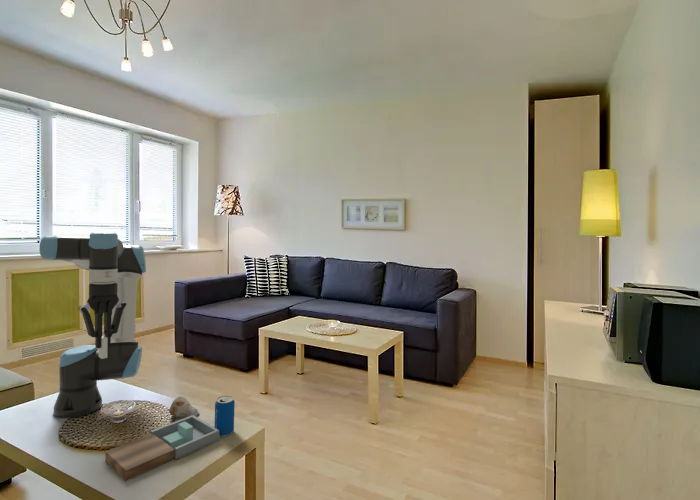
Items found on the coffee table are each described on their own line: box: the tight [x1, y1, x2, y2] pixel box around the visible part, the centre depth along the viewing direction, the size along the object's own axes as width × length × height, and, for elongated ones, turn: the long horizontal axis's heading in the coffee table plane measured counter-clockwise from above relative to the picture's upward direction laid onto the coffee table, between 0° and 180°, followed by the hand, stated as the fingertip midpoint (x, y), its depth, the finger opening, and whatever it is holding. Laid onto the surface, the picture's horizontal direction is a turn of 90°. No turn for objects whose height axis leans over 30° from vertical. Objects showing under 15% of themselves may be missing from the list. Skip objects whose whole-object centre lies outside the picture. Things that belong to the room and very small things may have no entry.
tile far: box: [178, 422, 193, 443], centre depth 131 cm, size 5×5×2 cm
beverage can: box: [213, 395, 236, 437], centre depth 137 cm, size 6×6×12 cm
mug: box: [168, 396, 200, 418], centre depth 148 cm, size 8×10×10 cm
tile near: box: [163, 431, 186, 449], centre depth 128 cm, size 5×5×2 cm
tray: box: [150, 415, 220, 461], centre depth 131 cm, size 16×15×4 cm
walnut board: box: [104, 433, 175, 482], centre depth 120 cm, size 14×14×3 cm
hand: (102, 357), depth 124 cm, fingers closed
